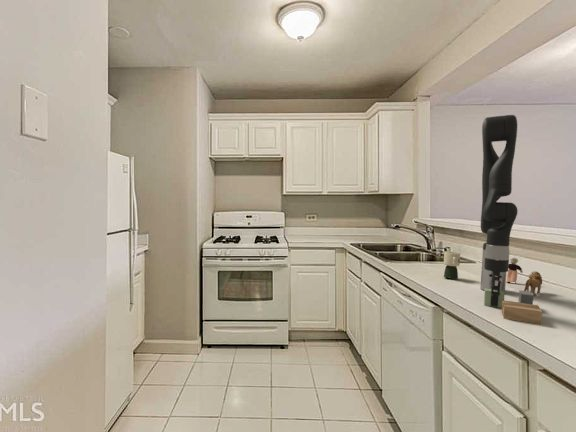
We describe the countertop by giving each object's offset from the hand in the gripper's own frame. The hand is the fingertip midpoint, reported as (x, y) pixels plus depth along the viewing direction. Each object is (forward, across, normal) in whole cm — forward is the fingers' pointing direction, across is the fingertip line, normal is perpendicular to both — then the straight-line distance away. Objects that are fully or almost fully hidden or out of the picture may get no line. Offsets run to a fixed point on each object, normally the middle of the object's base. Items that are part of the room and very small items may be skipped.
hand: (493, 304), depth 127 cm
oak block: (0, +11, +7) cm, 13 cm away
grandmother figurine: (+1, -50, +10) cm, 51 cm away
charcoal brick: (+1, -4, +10) cm, 11 cm away
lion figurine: (+1, -31, +16) cm, 35 cm away
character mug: (+1, -42, -16) cm, 45 cm away
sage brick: (0, 0, 0) cm, 0 cm away
